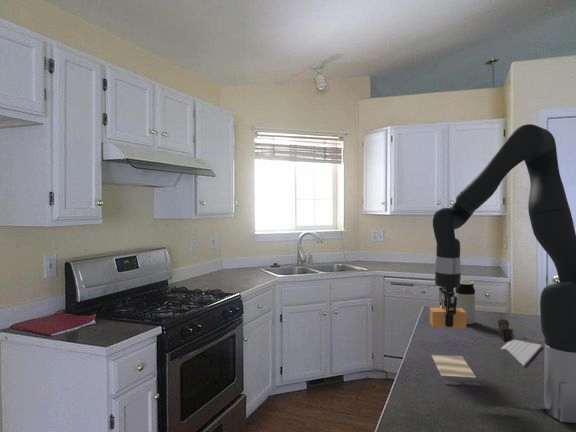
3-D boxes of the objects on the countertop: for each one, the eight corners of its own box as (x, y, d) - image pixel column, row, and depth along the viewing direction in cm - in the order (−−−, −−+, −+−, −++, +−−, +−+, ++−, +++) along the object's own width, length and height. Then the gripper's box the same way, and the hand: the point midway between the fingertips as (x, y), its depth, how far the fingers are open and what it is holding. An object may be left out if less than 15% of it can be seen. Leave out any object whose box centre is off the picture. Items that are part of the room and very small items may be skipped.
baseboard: (478, 365, 138) (518, 375, 129) (478, 356, 137) (518, 366, 129) (505, 341, 160) (541, 348, 152) (505, 334, 160) (541, 341, 152)
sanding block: (466, 328, 129) (466, 312, 129) (432, 327, 130) (432, 311, 130) (462, 323, 134) (461, 308, 134) (429, 322, 135) (429, 307, 135)
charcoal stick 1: (459, 388, 120) (460, 392, 118) (444, 387, 120) (446, 391, 118) (459, 382, 120) (460, 385, 118) (444, 381, 120) (446, 384, 118)
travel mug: (476, 321, 185) (476, 281, 185) (473, 325, 179) (473, 284, 178) (457, 318, 190) (457, 279, 189) (453, 323, 183) (453, 282, 182)
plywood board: (476, 382, 123) (476, 377, 123) (440, 380, 125) (440, 375, 125) (462, 360, 140) (462, 356, 140) (431, 359, 142) (431, 354, 142)
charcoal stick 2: (479, 389, 119) (481, 393, 117) (464, 389, 120) (466, 392, 118) (479, 383, 119) (481, 386, 117) (464, 382, 119) (466, 385, 117)
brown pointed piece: (498, 327, 177) (498, 316, 176) (508, 328, 175) (508, 318, 175) (496, 341, 160) (496, 329, 160) (507, 342, 158) (507, 330, 158)
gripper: (466, 275, 124) (465, 331, 125) (454, 267, 138) (454, 317, 139) (440, 274, 125) (439, 330, 126) (431, 266, 139) (430, 316, 140)
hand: (447, 323), depth 132 cm, fingers closed on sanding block, 5 cm apart
